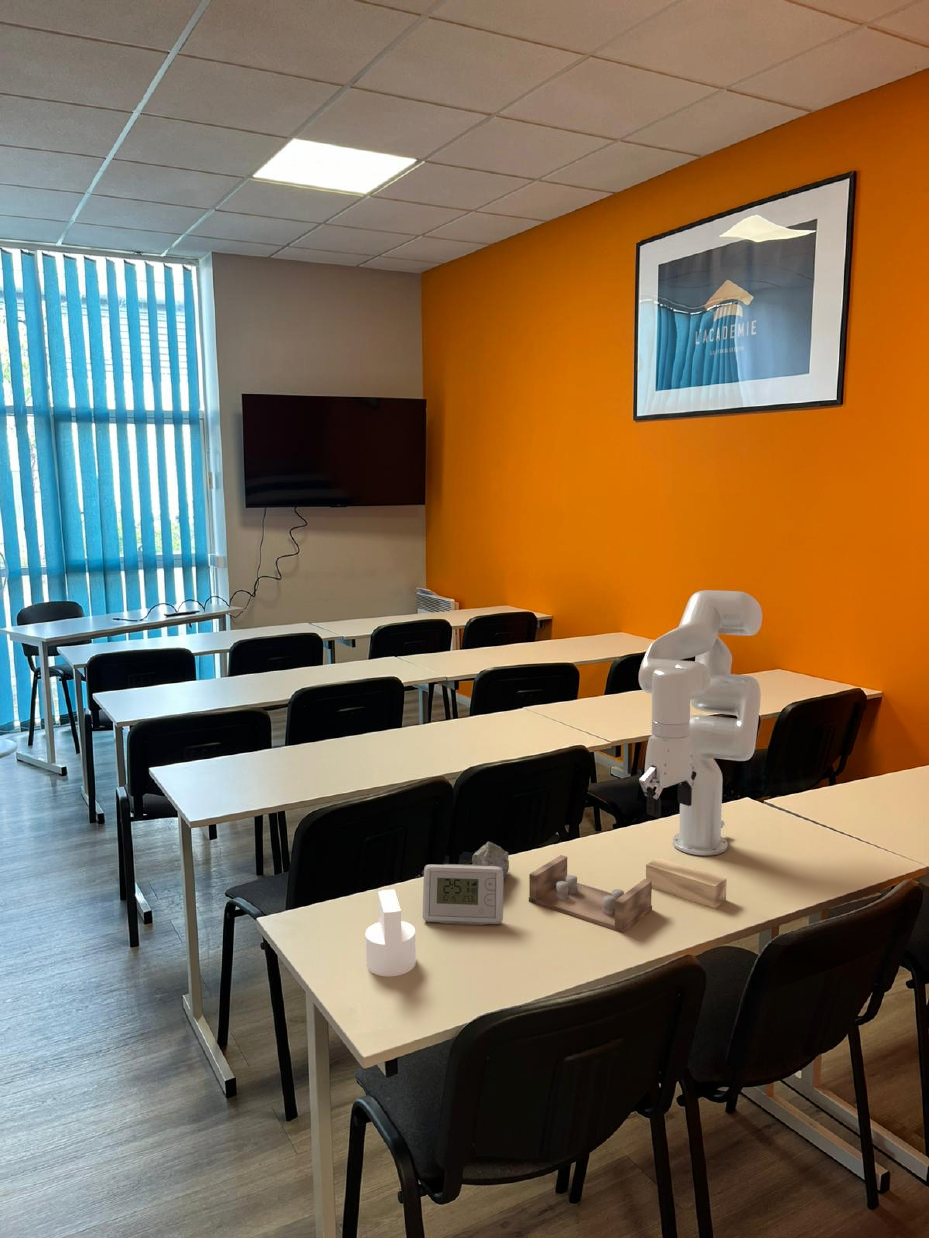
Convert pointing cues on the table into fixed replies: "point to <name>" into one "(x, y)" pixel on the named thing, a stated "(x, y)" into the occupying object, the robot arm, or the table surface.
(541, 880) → the peg cradle
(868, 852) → the table surface
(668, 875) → the board
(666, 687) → the robot arm
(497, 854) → the mineral rock
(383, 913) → the base with upright slab
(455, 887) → the digital clock
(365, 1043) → the table surface
